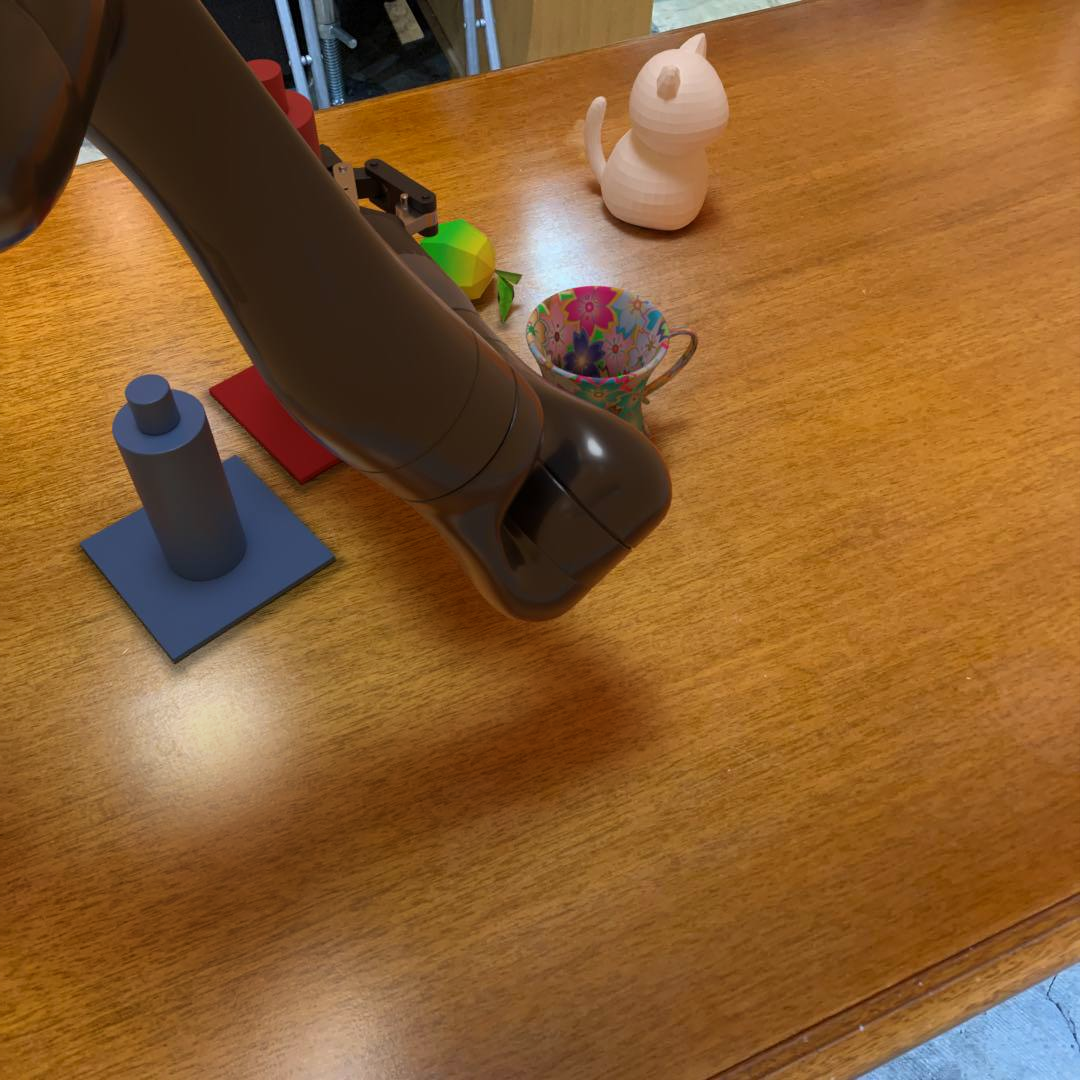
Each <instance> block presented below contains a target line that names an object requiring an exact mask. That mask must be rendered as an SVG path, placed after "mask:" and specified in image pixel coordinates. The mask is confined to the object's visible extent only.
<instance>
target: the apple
mask: <svg viewBox="0 0 1080 1080" xmlns="http://www.w3.org/2000/svg"><path fill="white" fill-rule="evenodd" d="M438 228H439V232H438V234H437V235H436V236H434V237H423V239H422V240H421V241H420V242H419V244H420V245H421V247H422V248H423V249H424V250H425V251H426V252H427V253H428V254H429V255H430V256H431V257H432V258H433V259H434V260H435V261H436V262H437V264H438V265H439V266H440V267H441V268H442V269H443V270H444V271H445V272H446V273H447V274H448V275H449V276H450V277H451V279H452V280H453V281H454V282H455V283H456V284H457V285H458V286H459V287H460V288H461V289H462V291H463V292H464V293H465V294H466V295H467V297H468V298H469V300H470V301H472V300H477V299H480V298H481V297H482V295H483V294H484V293H485V290H486V289H487V287H488V286H489V285H490V283H491V282H492V279H493V277H494V275H495V274H496V275H497V286H496V287H497V288H496V290H497V303H498V306H499V312H500V316H501V320H502V324H504V323H505V320H506V318H507V315H508V313H509V310H510V309H511V306H512V304H513V301H514V299H515V288H514V287H515V286H516V285H519V283H520V280H521V279H522V277H523V274H521V273H517V272H516V273H515V272H510V271H505V270H501V269H496V249H495V248H494V246H493V243H492V241H490V239H489V237H488V236H486V235H485V234H484V233H482V232H481V231H480V230H479V229H477V228H476V227H474V226H473V225H472V224H470V223H468V222H467V221H466V220H465V219H464V218H460V219H456V220H451V221H447V222H443V223H442V222H441V223H438ZM514 285H515V286H514Z"/></svg>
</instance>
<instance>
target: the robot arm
mask: <svg viewBox="0 0 1080 1080" xmlns="http://www.w3.org/2000/svg"><path fill="white" fill-rule="evenodd" d="M246 62H247V61H246V60H245V58H244V57H243V56H242V55H241V53H240V52H239V51H238V49H237V48H236V47H235V45H234V44H233V43H232V42H231V40H230V39H229V38H228V36H227V35H226V34H225V32H224V31H223V30H222V28H221V27H220V26H219V25H218V23H217V21H216V20H215V19H214V17H213V16H212V15H211V14H210V12H209V10H208V9H207V8H206V6H205V5H204V4H203V3H202V1H201V0H0V255H1V254H3V253H6V252H8V251H9V250H11V249H13V248H15V247H16V246H18V245H20V244H22V243H24V242H25V241H26V240H27V239H28V238H29V237H30V236H32V235H33V234H34V233H35V232H36V231H37V230H38V229H39V228H40V227H41V226H42V225H43V223H44V222H45V220H46V219H47V218H48V216H49V215H50V214H51V212H52V211H53V209H54V208H55V207H56V205H57V203H58V202H59V200H60V199H61V197H62V195H63V194H64V192H65V191H66V188H67V187H68V184H69V183H70V180H71V179H72V175H73V173H74V170H75V167H76V165H77V162H78V159H79V156H80V152H81V148H82V147H83V144H84V141H85V139H86V140H87V141H88V142H89V143H90V144H92V145H93V147H95V148H96V149H97V150H98V151H99V152H100V153H101V154H102V155H104V156H105V157H106V158H107V159H108V161H110V162H111V163H112V164H113V165H114V166H115V167H116V168H117V169H118V170H119V172H121V173H122V175H124V176H125V178H126V179H128V181H129V182H130V183H131V184H132V185H133V186H134V187H135V189H137V191H139V193H140V194H141V195H142V197H143V198H144V199H145V200H146V201H147V203H149V205H150V206H151V207H152V209H153V210H154V211H155V212H156V214H157V216H159V218H160V219H161V220H162V222H163V223H164V225H165V226H166V227H167V228H168V230H169V232H171V234H172V235H173V236H174V238H175V239H176V240H177V242H178V243H179V245H180V246H181V248H182V250H183V251H184V252H185V253H186V255H187V257H188V258H189V260H190V261H191V263H192V264H193V266H194V267H195V269H196V270H197V272H198V274H199V276H200V277H201V278H202V280H203V282H204V283H205V285H206V286H207V288H208V290H209V291H210V294H211V295H212V297H213V298H214V300H215V302H216V304H217V306H218V308H219V310H220V311H221V313H222V315H223V316H224V318H225V319H226V321H227V323H228V325H229V327H230V329H231V330H232V332H233V333H234V335H235V336H236V339H237V340H238V342H239V344H240V345H241V346H242V349H243V350H244V352H245V353H246V355H247V357H248V358H249V360H250V361H251V363H252V365H254V366H255V368H256V369H257V371H258V372H259V374H260V375H261V377H262V378H263V380H264V381H265V383H266V384H267V386H268V387H269V389H270V390H271V391H272V393H273V394H274V395H275V397H276V398H277V399H278V401H279V402H280V403H281V405H282V406H283V407H284V408H285V410H286V411H287V412H288V413H289V414H290V415H291V417H292V418H293V419H294V420H295V421H296V422H297V423H298V424H299V425H300V426H301V427H302V428H303V429H304V430H305V431H306V432H307V433H308V434H309V435H310V436H312V437H313V438H314V439H315V440H316V441H318V442H319V443H320V444H321V445H323V446H324V447H325V448H326V449H328V450H329V451H330V452H331V453H333V454H334V455H335V456H337V457H338V458H340V459H341V461H343V462H344V463H346V464H347V465H349V466H351V467H352V468H354V469H355V470H357V471H358V472H360V474H362V475H364V476H365V477H367V478H368V479H370V480H371V481H372V482H374V483H376V484H377V485H379V486H380V487H382V488H383V489H385V490H386V491H388V492H389V493H391V494H392V495H393V496H396V497H397V498H398V499H401V501H403V502H404V503H405V504H407V506H408V505H409V507H410V508H411V509H413V510H414V511H415V512H416V513H417V514H419V515H420V517H422V518H423V520H424V521H426V522H427V523H428V524H429V525H430V527H431V528H432V529H433V530H434V531H435V532H436V533H437V534H438V536H439V537H440V538H441V539H442V541H443V542H444V544H445V545H446V546H447V548H448V549H449V551H450V553H451V554H452V555H453V557H454V559H455V561H456V562H457V564H458V565H459V567H460V568H461V570H462V572H463V573H464V575H465V576H466V577H467V579H468V581H469V582H470V583H471V585H472V586H473V587H474V588H475V590H476V591H477V592H478V593H479V594H480V596H481V597H482V598H483V600H484V601H486V602H487V604H489V605H490V606H491V607H492V608H493V609H495V610H496V611H497V612H498V613H500V614H502V615H503V616H505V617H507V618H509V619H511V620H514V621H518V622H524V623H544V622H550V621H552V620H555V619H559V618H560V617H562V616H563V615H565V614H566V613H569V611H571V610H572V609H574V607H575V606H577V604H579V603H580V602H581V601H582V600H583V599H584V598H585V597H586V596H587V595H588V594H589V593H590V592H591V591H592V589H594V588H595V587H596V586H597V585H598V584H599V583H600V582H602V580H604V578H606V576H607V575H609V574H610V573H611V572H612V571H613V570H614V569H615V568H616V567H617V566H618V565H619V564H620V563H621V562H622V561H624V559H626V558H627V557H628V556H629V555H630V554H631V553H632V549H636V548H637V547H638V546H639V545H640V544H642V543H643V542H644V540H646V539H647V538H648V537H649V536H650V535H651V534H652V533H653V532H654V531H656V529H657V528H658V527H660V524H662V522H663V521H664V519H665V518H666V517H667V515H668V513H669V511H670V509H671V507H672V501H673V482H672V477H671V473H670V470H669V466H668V464H667V462H666V459H665V458H664V456H663V455H662V453H661V452H660V450H659V448H658V447H657V446H656V445H655V443H653V441H652V440H651V439H650V440H649V439H648V438H647V437H646V436H645V435H644V434H643V433H642V432H640V431H639V430H638V429H637V428H635V427H634V426H633V425H631V424H629V423H628V422H626V421H624V420H623V419H621V418H619V417H618V416H616V415H614V414H613V413H611V412H609V411H607V410H605V409H603V408H601V407H599V406H597V405H595V404H593V403H591V402H589V401H586V400H584V399H582V398H580V397H578V396H576V395H574V394H572V393H570V392H568V391H566V390H564V389H562V388H560V387H558V386H556V385H555V384H553V383H552V382H550V381H548V380H547V379H545V378H544V377H542V375H540V374H539V373H538V372H536V371H535V370H534V369H533V368H532V367H530V366H529V365H528V364H527V363H526V362H524V361H523V359H521V358H520V357H519V356H518V355H517V354H516V352H515V351H513V350H512V349H511V348H510V347H509V346H508V344H507V343H506V342H505V341H504V340H503V339H502V338H501V336H500V335H498V334H497V333H496V332H495V330H494V329H493V328H492V327H491V326H490V325H489V324H488V323H487V322H486V320H485V319H484V318H483V317H482V316H481V315H480V314H479V312H478V311H477V309H476V307H475V306H474V304H473V302H472V300H469V298H468V297H467V295H466V294H465V293H464V292H463V291H462V289H461V288H460V287H459V286H458V285H457V284H456V283H455V282H454V281H453V280H452V279H451V277H450V276H449V275H448V274H447V273H446V272H445V271H444V270H443V269H442V268H441V267H440V266H439V265H438V264H437V262H436V261H435V260H434V259H433V258H432V257H431V256H430V255H429V254H428V253H427V252H426V251H425V250H424V249H423V248H422V247H421V245H420V242H418V241H417V240H416V239H415V238H414V237H413V236H415V235H417V234H418V235H420V236H421V237H423V238H424V237H434V236H436V235H437V234H438V232H439V228H438V224H439V217H438V205H437V202H438V201H437V194H436V193H434V192H433V191H431V190H430V189H428V188H427V187H425V186H423V185H422V184H421V183H419V182H417V181H416V180H414V179H413V178H411V177H409V176H407V175H406V174H404V173H403V172H401V171H400V170H398V169H397V168H395V167H394V166H392V165H390V164H389V163H387V162H385V161H384V160H383V159H380V158H369V159H367V160H365V162H364V163H363V166H362V167H361V166H360V167H353V164H351V163H350V162H346V161H343V160H342V159H341V158H340V157H339V156H338V155H337V154H336V152H335V151H334V150H333V149H332V148H331V147H330V146H328V145H326V144H324V143H319V146H320V152H321V158H322V162H321V160H320V159H319V158H318V156H317V155H316V154H315V153H314V151H313V150H312V149H311V147H310V146H309V145H308V143H307V142H306V141H305V140H304V138H303V137H302V135H301V134H300V133H299V131H298V130H297V129H296V127H295V126H294V125H293V123H292V122H291V121H290V119H289V118H288V117H287V115H286V114H285V112H284V111H283V110H282V109H281V107H280V106H279V105H278V103H277V102H276V101H275V99H274V98H273V97H272V95H271V94H270V93H269V91H268V90H267V89H266V87H265V86H264V85H263V84H262V82H261V81H260V80H259V78H258V77H257V76H256V74H255V73H254V72H253V70H252V69H251V68H250V67H249V65H248V64H247V63H246ZM365 199H368V201H369V202H370V203H371V204H373V205H374V206H375V207H377V208H379V209H380V210H378V209H373V208H369V207H366V206H361V205H360V203H359V200H365Z"/></svg>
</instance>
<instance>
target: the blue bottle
mask: <svg viewBox="0 0 1080 1080" xmlns="http://www.w3.org/2000/svg"><path fill="white" fill-rule="evenodd" d="M124 396H125V399H126V403H125V404H123V405H122V407H121V408H120V409H119V410H118V411H117V413H116V414H115V416H114V417H113V421H112V424H111V432H112V433H111V434H112V436H113V439H114V442H115V444H116V447H117V448H118V451H119V453H120V456H121V458H122V460H123V462H124V464H125V467H126V470H127V472H128V475H129V476H130V479H131V481H132V483H133V484H132V485H134V488H135V491H136V493H137V495H138V498H139V500H140V502H141V505H142V507H144V509H145V512H146V514H147V516H148V519H149V521H150V523H151V526H152V528H153V530H154V533H155V535H156V537H157V540H158V542H159V544H160V547H161V549H162V551H163V554H164V556H165V559H166V561H167V563H168V565H169V567H170V568H171V570H172V571H173V572H175V573H176V574H177V575H179V576H181V577H183V578H186V579H190V580H197V581H202V580H210V579H214V578H217V577H220V576H222V575H224V574H226V573H228V572H229V571H231V570H232V569H233V568H234V567H236V566H237V565H238V563H239V562H240V561H241V559H242V558H243V556H244V554H245V551H246V546H247V541H246V536H245V533H244V530H243V527H242V524H241V521H240V518H239V515H238V512H237V508H236V505H235V502H234V499H233V496H232V493H231V490H230V487H229V484H228V481H227V477H226V474H225V471H224V468H223V465H222V462H223V461H222V459H221V456H220V452H219V450H218V447H217V443H216V440H215V438H214V434H213V432H212V429H211V425H210V421H209V418H208V415H207V412H206V409H205V407H204V405H203V404H202V402H201V401H200V400H199V398H197V397H196V396H194V395H193V394H191V393H189V392H187V391H183V390H179V389H173V388H171V386H170V383H169V381H168V380H167V379H166V378H165V377H163V376H162V375H159V374H154V373H148V374H143V375H140V376H137V377H135V378H133V379H132V380H130V381H129V383H128V384H127V385H126V387H125V390H124Z"/></svg>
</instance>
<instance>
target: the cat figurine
mask: <svg viewBox="0 0 1080 1080" xmlns="http://www.w3.org/2000/svg"><path fill="white" fill-rule="evenodd" d="M707 43H708V42H707V37H706V35H705V33H704V32H701V33H697V34H695V35H693V36H692V37H690V38H688V39H687V40H686V41H685V42H684V43H683V44H682V45H681V46H679V48H670V49H666V50H664V51H661V52H659V53H656V54H655V55H654V56H652V57H651V58H650V59H648V60H647V62H645V64H644V65H643V66H642V68H641V69H640V71H639V72H638V74H637V76H636V78H635V80H634V82H633V84H632V87H631V92H630V95H629V100H628V119H629V123H630V125H631V128H629V129H628V130H627V132H626V133H625V134H623V136H621V137H620V139H618V141H617V142H616V144H615V145H614V148H613V149H612V151H611V153H610V155H609V157H608V160H606V158H605V155H604V151H603V146H602V127H603V122H604V120H605V119H604V118H605V114H606V111H607V105H608V104H607V99H606V98H605V96H602V95H601V96H597V97H595V98H594V100H593V101H592V102H591V104H590V105H589V108H588V110H587V112H586V116H585V119H584V126H583V127H584V128H583V135H584V137H583V139H584V145H585V146H584V148H585V153H586V157H587V162H588V164H589V168H590V170H591V173H592V175H593V177H594V179H595V180H596V181H597V183H598V184H599V185H600V191H601V196H602V201H603V203H604V205H605V206H606V208H607V210H608V211H609V212H610V214H611V215H612V216H614V217H615V218H616V219H619V220H621V221H623V222H625V223H627V224H631V225H634V226H637V227H643V228H647V229H653V230H659V231H676V230H679V229H682V228H684V227H686V226H688V225H689V224H690V223H692V221H694V220H695V219H696V218H697V216H698V215H699V214H700V211H701V209H702V207H703V205H704V203H705V199H706V196H707V192H708V188H709V178H710V177H709V175H710V174H709V170H710V169H709V168H710V167H709V162H708V156H707V152H706V149H707V148H708V147H710V146H711V145H712V144H714V143H715V142H716V141H717V140H718V139H720V137H721V136H722V135H723V134H724V132H725V131H726V129H727V127H728V125H729V119H730V107H729V106H730V105H729V100H728V97H727V93H726V90H725V88H724V85H723V82H722V80H721V78H720V77H719V74H718V73H717V70H716V69H715V68H714V67H713V65H712V64H711V63H710V62H709V61H708V60H707V46H708V45H707Z"/></svg>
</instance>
